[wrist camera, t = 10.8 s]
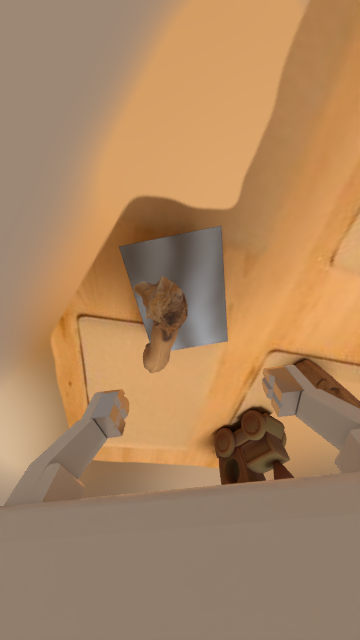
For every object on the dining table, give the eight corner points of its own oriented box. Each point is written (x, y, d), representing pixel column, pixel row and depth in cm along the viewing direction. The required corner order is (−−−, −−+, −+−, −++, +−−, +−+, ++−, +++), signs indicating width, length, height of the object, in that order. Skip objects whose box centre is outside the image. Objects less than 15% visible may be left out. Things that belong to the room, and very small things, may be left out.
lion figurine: (145, 264, 20) (125, 282, 12) (188, 268, 20) (196, 288, 12) (145, 357, 27) (132, 410, 18) (177, 359, 27) (178, 411, 19)
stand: (215, 227, 25) (230, 223, 18) (221, 318, 32) (234, 340, 25) (127, 245, 26) (110, 248, 19) (152, 330, 33) (147, 354, 26)
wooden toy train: (230, 446, 54) (252, 525, 39) (206, 435, 51) (219, 517, 36) (281, 417, 48) (329, 498, 33) (257, 401, 44) (298, 484, 29)
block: (278, 373, 39) (363, 485, 21) (305, 353, 37) (427, 462, 19) (303, 391, 43) (395, 502, 25) (329, 374, 40) (454, 484, 22)
